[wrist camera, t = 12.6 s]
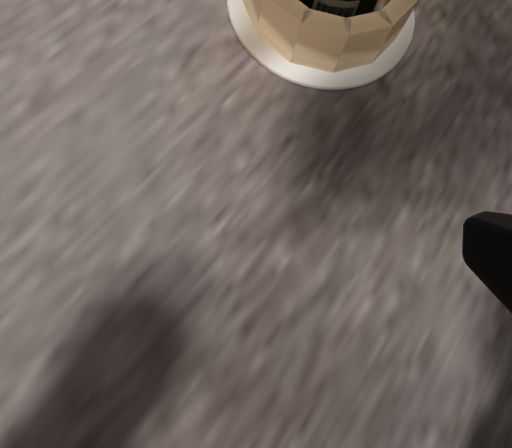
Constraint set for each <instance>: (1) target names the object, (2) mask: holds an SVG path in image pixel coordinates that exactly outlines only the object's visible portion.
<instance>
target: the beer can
mask: <svg viewBox="0 0 512 448" xmlns="http://www.w3.org/2000/svg"><path fill="white" fill-rule="evenodd" d="M299 1H300V2H302V3H303V4H304V5H305V6H307V7H308V8H309V9H313V10H317V11H321V12H325V13H329V14H333V15H337V16H341V17H345V18H348V17H353V16H358V15H363V14H368V13H372V12H373V11H374V9H375V6H376V4H377V2H378V0H299Z"/></svg>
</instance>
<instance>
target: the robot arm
mask: <svg viewBox="0 0 512 448" xmlns="http://www.w3.org/2000/svg"><path fill="white" fill-rule="evenodd" d="M462 255H463V258H464V261H465V263H466V264H467V266H468V267H469V268H470V269H471V270H472V271H473V272H474V273H475V274H476V276H477V277H478V278H479V279H480V280H481V281H482V282H483V283H484V284H485V285H486V286H487V287H488V289H489V290H490V291H491V292H492V293H493V294H494V295H495V296H496V297H497V298H498V299H499V300H500V302H501V303H502V304H503V305H504V306H505V307H506V308H507V309H508V310H509V311H510V312H511V313H512V215H511V214H503V213H496V212H488V211H485V212H481V213H478V214H476V215H473V216H471V217H469V218H467V219H466V220H465V222H464V224H463V246H462Z"/></svg>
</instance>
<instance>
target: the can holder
mask: <svg viewBox="0 0 512 448" xmlns="http://www.w3.org/2000/svg"><path fill="white" fill-rule="evenodd" d="M418 1H419V0H378V2H377V4H376V6H375V9H374V11H373V12H372V13H368V14H363V15H358V16H353V17H348V18H345V17H341V16H337V15H333V14H329V13H325V12H321V11H317V10H313V9H309V8H308V7H307V6H305V5H304V4H303V3H302V2H300V1H299V0H227V8H228V15H229V19H230V22H231V25H232V28H233V30H234V32H235V34H236V36H237V38H238V40H239V41H240V43H241V44H242V46H243V47H244V48H245V49H246V51H247V52H248V53H249V54H250V55H251V56H252V57H253V58H254V59H255V60H256V61H257V62H258V63H259V64H260V65H262V66H263V67H265V68H266V69H267V70H269V71H270V72H272V73H273V74H275V75H277V76H279V77H281V78H282V79H285V80H287V81H290V82H292V83H294V84H298V85H301V86H304V87H308V88H314V89H320V90H346V89H352V88H357V87H360V86H364V85H367V84H369V83H372V82H374V81H376V80H378V79H380V78H381V77H383V76H384V75H386V74H387V73H388V72H389V71H391V70H392V69H393V68H394V67H395V66H396V65H397V64H398V62H399V61H400V60H401V59H402V57H403V56H404V54H405V52H406V50H407V49H408V47H409V45H410V42H411V40H412V37H413V33H414V27H415V12H414V8H415V6H416V4H417V2H418Z"/></svg>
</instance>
